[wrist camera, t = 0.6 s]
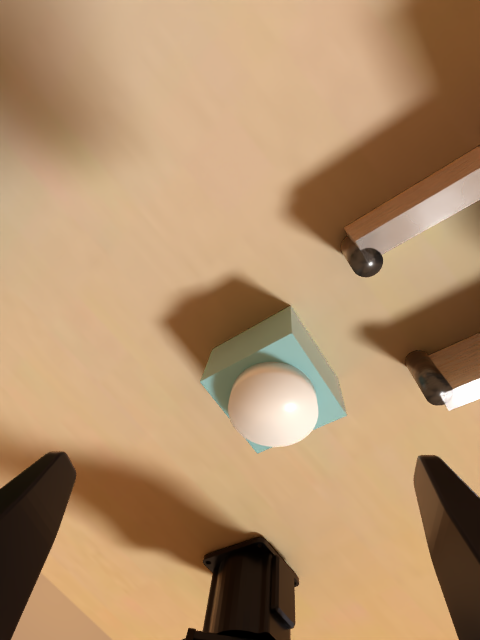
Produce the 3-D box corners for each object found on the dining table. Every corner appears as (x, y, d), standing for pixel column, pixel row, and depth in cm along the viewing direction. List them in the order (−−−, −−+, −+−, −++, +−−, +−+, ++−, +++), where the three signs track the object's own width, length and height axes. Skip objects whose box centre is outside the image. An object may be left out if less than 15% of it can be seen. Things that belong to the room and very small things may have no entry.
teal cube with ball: (261, 411, 25) (255, 468, 21) (212, 348, 24) (195, 394, 19) (337, 376, 24) (350, 430, 19) (290, 304, 22) (292, 343, 17)
